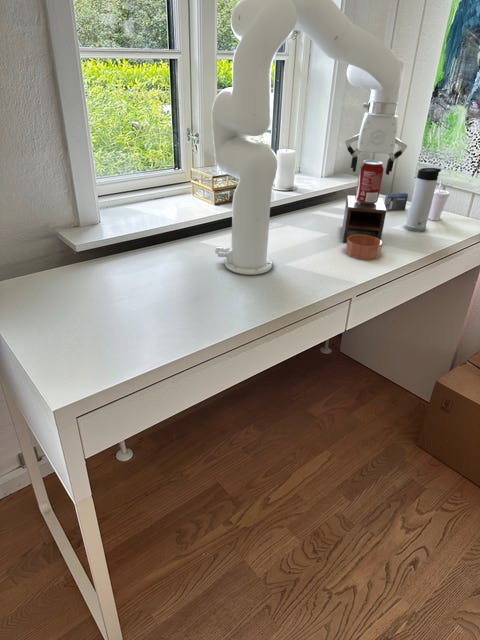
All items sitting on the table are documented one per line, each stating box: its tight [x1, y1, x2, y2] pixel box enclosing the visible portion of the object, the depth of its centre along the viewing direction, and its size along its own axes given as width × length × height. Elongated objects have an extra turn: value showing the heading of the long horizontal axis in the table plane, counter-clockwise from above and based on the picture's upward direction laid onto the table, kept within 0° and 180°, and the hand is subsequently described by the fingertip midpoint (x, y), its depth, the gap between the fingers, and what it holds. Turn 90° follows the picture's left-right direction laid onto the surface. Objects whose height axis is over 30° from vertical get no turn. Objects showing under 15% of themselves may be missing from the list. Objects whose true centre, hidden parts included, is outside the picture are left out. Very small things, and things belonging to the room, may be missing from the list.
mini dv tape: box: [384, 192, 409, 212], centre depth 174 cm, size 8×2×6 cm, turn 103°
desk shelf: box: [341, 194, 387, 244], centre depth 146 cm, size 11×13×11 cm
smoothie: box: [428, 178, 451, 221], centre depth 164 cm, size 6×6×14 cm
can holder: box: [345, 233, 383, 261], centre depth 136 cm, size 10×10×4 cm
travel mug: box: [405, 167, 442, 233], centre depth 152 cm, size 6×7×20 cm
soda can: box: [354, 159, 385, 205], centre depth 140 cm, size 7×7×12 cm
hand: (370, 172), depth 138 cm, fingers open, 9 cm apart
